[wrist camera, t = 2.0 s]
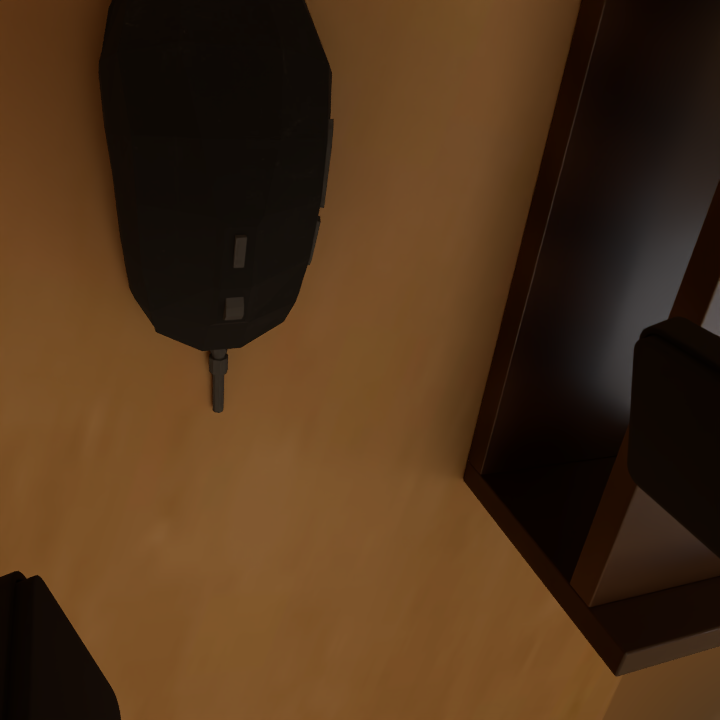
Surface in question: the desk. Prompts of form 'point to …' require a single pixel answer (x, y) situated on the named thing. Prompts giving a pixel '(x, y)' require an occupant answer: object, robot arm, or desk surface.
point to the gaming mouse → (216, 162)
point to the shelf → (609, 329)
